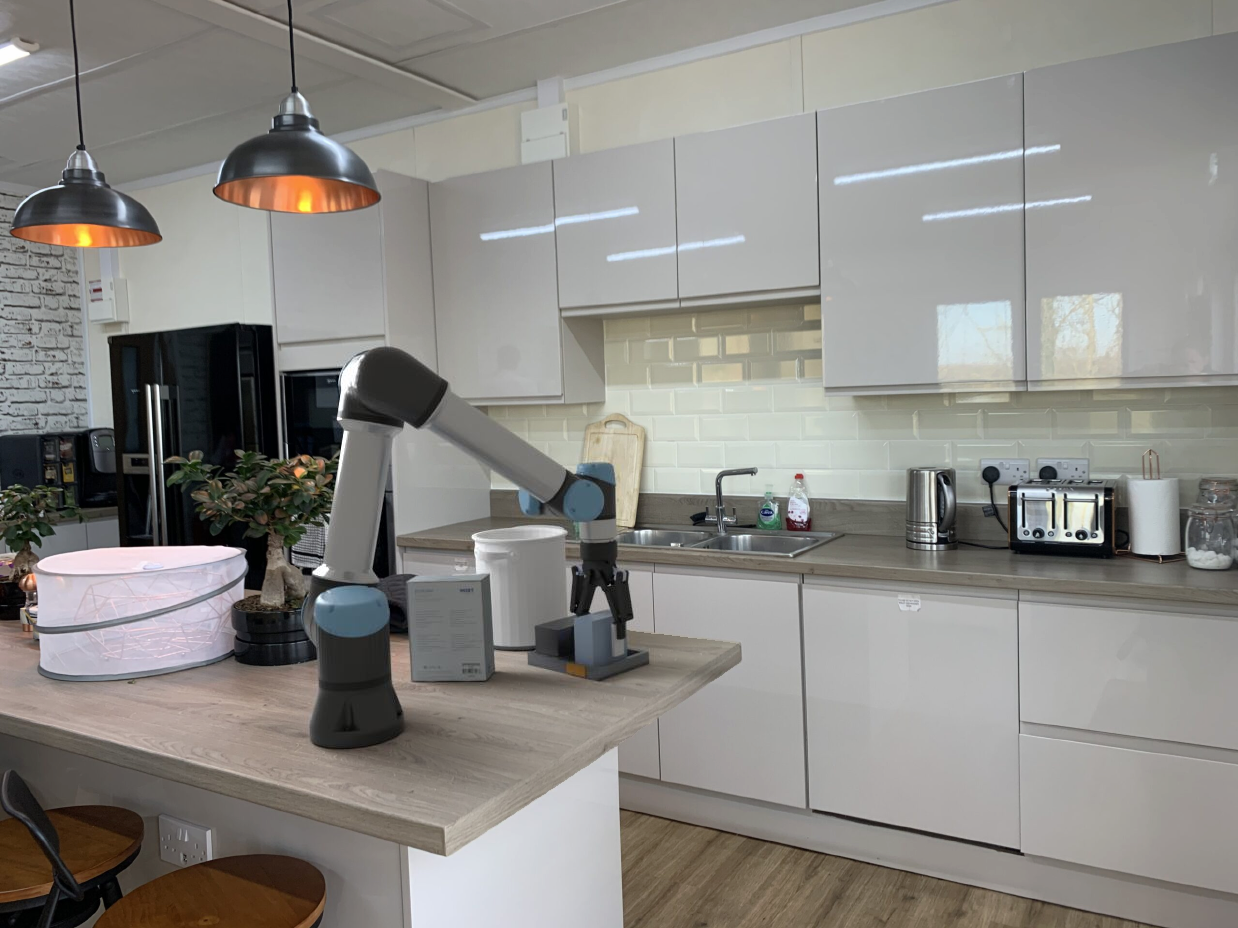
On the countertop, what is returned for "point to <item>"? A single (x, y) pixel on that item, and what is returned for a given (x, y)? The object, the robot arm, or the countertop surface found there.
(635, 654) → the tray
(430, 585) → the hard drive box
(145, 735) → the countertop surface
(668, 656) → the countertop surface
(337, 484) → the robot arm
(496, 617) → the bucket
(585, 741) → the countertop surface
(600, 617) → the block
